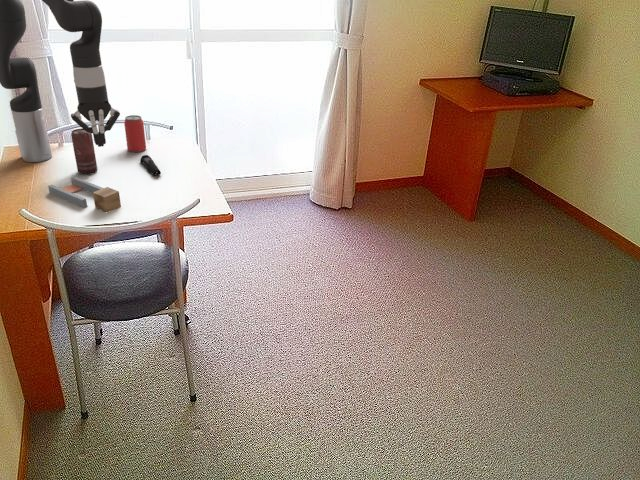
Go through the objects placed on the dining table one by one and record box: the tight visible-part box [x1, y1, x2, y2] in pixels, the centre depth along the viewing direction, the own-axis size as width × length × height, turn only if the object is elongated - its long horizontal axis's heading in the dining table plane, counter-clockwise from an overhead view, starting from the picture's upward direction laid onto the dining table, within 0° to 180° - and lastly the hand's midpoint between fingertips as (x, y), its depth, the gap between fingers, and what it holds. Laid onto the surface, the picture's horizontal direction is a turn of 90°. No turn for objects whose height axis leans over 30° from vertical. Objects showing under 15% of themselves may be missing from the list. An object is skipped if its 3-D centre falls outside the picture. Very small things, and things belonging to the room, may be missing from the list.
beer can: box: [123, 114, 147, 153], centre depth 196 cm, size 7×7×12 cm
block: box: [92, 186, 122, 213], centre depth 157 cm, size 5×5×5 cm
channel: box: [47, 176, 104, 209], centre depth 163 cm, size 16×9×2 cm, turn 58°
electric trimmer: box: [139, 154, 162, 176], centre depth 184 cm, size 4×16×3 cm, turn 31°
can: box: [70, 128, 98, 176], centre depth 176 cm, size 6×6×14 cm
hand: (100, 145), depth 152 cm, fingers closed
